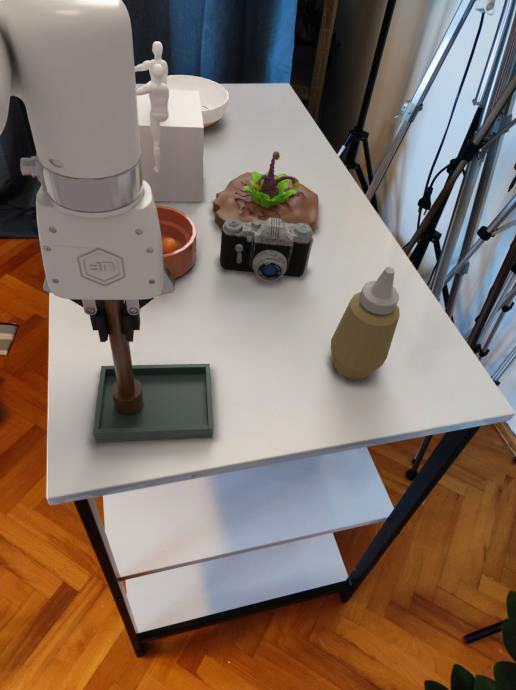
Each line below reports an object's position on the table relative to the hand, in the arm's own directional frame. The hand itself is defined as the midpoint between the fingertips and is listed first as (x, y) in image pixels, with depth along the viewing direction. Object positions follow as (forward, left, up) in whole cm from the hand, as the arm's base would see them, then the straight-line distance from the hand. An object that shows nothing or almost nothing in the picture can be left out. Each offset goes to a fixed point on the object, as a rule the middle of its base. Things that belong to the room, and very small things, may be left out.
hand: (117, 331), depth 52 cm
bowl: (+8, +81, -15) cm, 83 cm away
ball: (+5, +30, -12) cm, 33 cm away
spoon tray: (+3, 0, -14) cm, 15 cm away
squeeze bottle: (+31, +6, -15) cm, 35 cm away
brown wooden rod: (0, 0, -14) cm, 14 cm away
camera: (+20, +26, -15) cm, 36 cm away
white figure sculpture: (+3, +52, -15) cm, 54 cm away
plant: (+23, +44, -15) cm, 52 cm away
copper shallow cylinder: (+2, +30, -14) cm, 33 cm away
